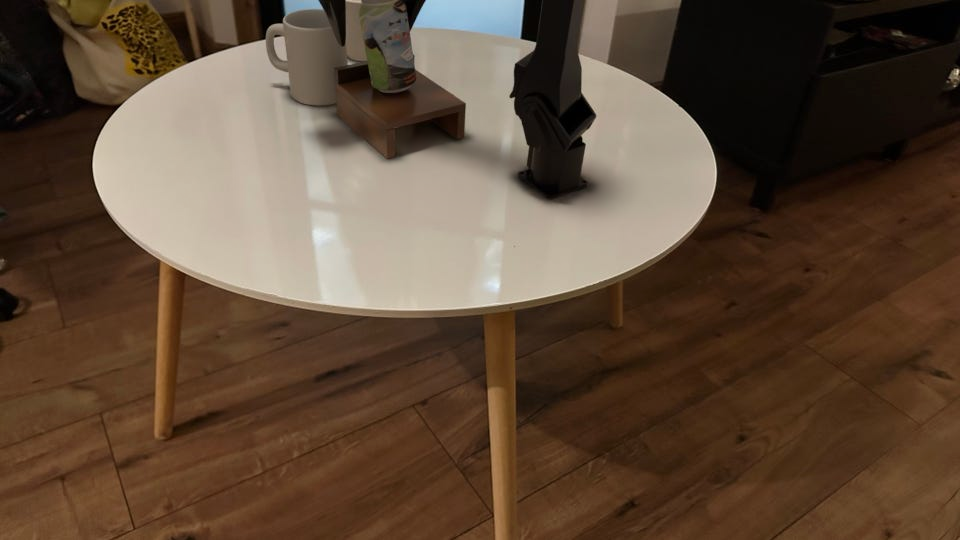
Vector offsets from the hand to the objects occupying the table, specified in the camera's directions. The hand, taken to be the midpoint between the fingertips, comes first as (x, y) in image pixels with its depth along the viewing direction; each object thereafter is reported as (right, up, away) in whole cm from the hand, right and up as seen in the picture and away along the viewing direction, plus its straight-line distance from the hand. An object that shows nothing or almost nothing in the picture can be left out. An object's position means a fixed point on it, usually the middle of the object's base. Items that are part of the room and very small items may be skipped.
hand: (374, 39), depth 88 cm
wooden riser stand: (+2, -10, +7) cm, 12 cm away
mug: (-12, -3, +14) cm, 19 cm away
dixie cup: (-6, +6, +27) cm, 28 cm away
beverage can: (+1, -5, +5) cm, 7 cm away
